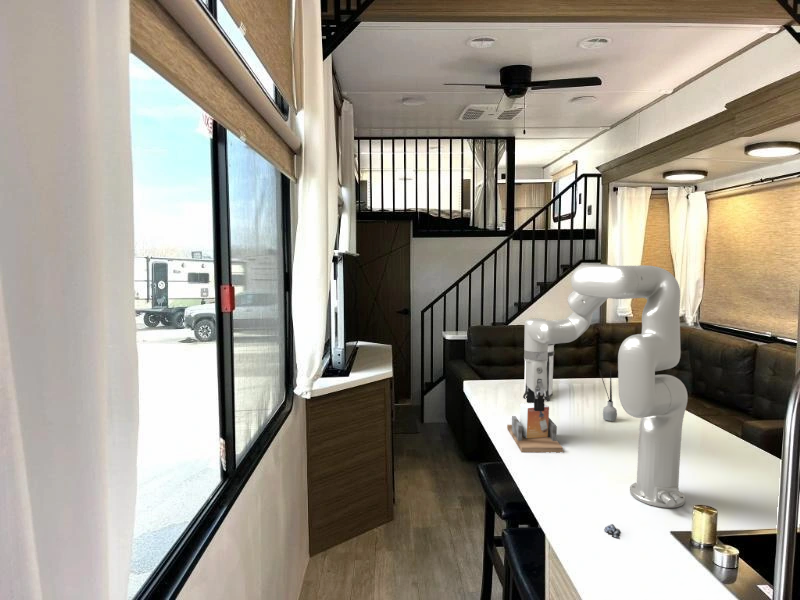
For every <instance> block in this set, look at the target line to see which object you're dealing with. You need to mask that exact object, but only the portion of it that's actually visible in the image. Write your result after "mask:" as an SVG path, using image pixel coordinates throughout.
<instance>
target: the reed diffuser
mask: <svg viewBox="0 0 800 600" xmlns="http://www.w3.org/2000/svg"><path fill="white" fill-rule="evenodd" d="M598 370H599V375H600V377H601V379H602V383H603V387H604V390H605V392H606V397H607V398H608V401H607V404H606V406H605V407H603V409H602V419H603V420H605V421H610V422H612V421H613V422H614V421H616V420H617V419H618V412H617V411H618V410H617V408H615V406H614V401H613V394H612V393H613V392H612V391H613V390H612V389H613V388H612V367H610V368H609V373H610V374H609V375H610V376H609V380H610V381H609V394H608V391H607V388H606V387H607V386H606V384H605V381H604V378H603V375H602V372H601V369H598Z"/></svg>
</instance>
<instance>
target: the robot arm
mask: <svg viewBox="0 0 800 600" xmlns="http://www.w3.org/2000/svg"><path fill="white" fill-rule="evenodd" d="M570 285H571V288H572V292H570V293H569V295H568V296H567V304H568V307H569V308H570V309H571V310H572V312H571V314H570V315H569V316H568V317H566V318H565V319H552V320H551V319H550V320H546V319H544V318H539V317H538V318H532V317H531V318H527V319H526V320H525V322H524V337H523V338H524V340H523V341H524V343H523V344H524V345H523V346H524V347H523V348H524V354H523V359H524V362H525V361H527V366H526V385H527V395H526V396H527V399H526V404H527V403H534V410H535V411H544V404H545V397H544V395H545V394H544V391H545V392H546V391H547V367H546V361H548V344H554V345H556V344H566V343H571V342H574V341H575V340H577V339H578V338H579V337H581V336H582V335H583V334H584V333H585V332H586V331H587V330H588V329H589V327H590V326H591V324H592V320H593V313H594V312H596V311H597V310H598V308H600V307H601V306H602V305H603V304H604V303H605V302H606V301H607V300H608V299H613V300H626V299H627V300H628V299H645V300H646V302H645V305H644V307H643V310H642V314H641V333H637V334H632V335H630V336H628V337H626V338H625V339H624V340H623V341H622V343H621V344H620V346H619V350H618V353H617V371H618V373H617V378H618V397H619V402H620V406H621V407H622V409H623V410H624V411H625V412H626V414H628V415H629V416H631V417H633V418H636V419H640V422H639V428H638V431H639V432H638V448H637V449H638V450H637V466H636V467H637V470H636V482H634V483H632V484H631V485H629V493H630V495H631V496H632V497H633V498H634V499H636V500H637V501H639V502H641V503H644V504H647V505H649V506H654V507H658V508H668V509H671V508H679V507H682V506H683V505H684V504H685V502H686V497H685V495H684V494H683V493H682V492H681V491H680V490H679V489H680V488H679V485H680V484H679V483H680V465H681V464H680V462H681V447H682V446H681V444H682V443H681V442H682V433H683V422H684V417H685V413H686V410H687V406H688V399H689V398H688V391H687V388H686V386H685V384H684V383H683V382H682V380H681V379H679V378H678V377H676V376H674V375H670V374H656V372H659V371H664V370H670V369H672V368H674V367H677V365H678V364H679V362H680V359H681V319H680V308H681V307H680V306H681V289H680V285H679V282H678V280H677V278H676V277H675V276H674V275H673V274H672V273H671V272H670V271H668V270H666V269H665V268H662V267H660V266H656V265H655V266H653V265H644V264H643V265H641V264H640V265H638V264H637V265H610V264H605V263H603V264H597V263H596V264H594V263H593V264H592V263H590V264H583V265H580V266H579V267H577V268H576V269H575V270H574V271H573V273H572V275H571V279H570ZM537 392H538V394H537Z"/></svg>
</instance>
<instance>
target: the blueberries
mask: <svg viewBox="0 0 800 600" xmlns="http://www.w3.org/2000/svg"><path fill="white" fill-rule="evenodd" d="M603 530H604V531H603V532H604V533H606V534H607V535H608V536H611V538H613V539H618V540H619V539H620V535H621V533H622V532H621V530H620V529H619V528H616V526H615V525H614V524H613V523H611V524H608V525H606V526H605V527H604V529H603Z"/></svg>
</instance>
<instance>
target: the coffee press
mask: <svg viewBox="0 0 800 600" xmlns="http://www.w3.org/2000/svg"><path fill="white" fill-rule="evenodd" d="M554 346H555V344H548V361H546V367H547V391H546V392H545V391H544V394H545V395H544V397H545V398H544V401H546V400H547V401H546V402H551V397H552V396H553V386H554V385H553V383H554V381H553V379H554V377H553V376H554V356H555V350H554V349H555V347H554ZM526 366H527V361H525V360H524V385H523V386H524V387H523V392H524V394H523V396H522V397H523V398H524V399H525V397H526V398H527V385H526ZM537 394H538V392H537ZM551 395H552V396H551Z"/></svg>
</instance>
